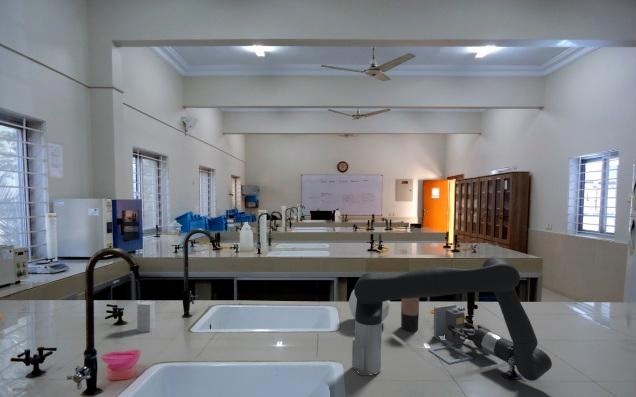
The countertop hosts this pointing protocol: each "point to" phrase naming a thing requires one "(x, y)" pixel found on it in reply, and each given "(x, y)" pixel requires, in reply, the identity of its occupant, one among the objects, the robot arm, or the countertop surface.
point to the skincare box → (146, 316)
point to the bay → (442, 322)
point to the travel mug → (410, 314)
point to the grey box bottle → (454, 323)
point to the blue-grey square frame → (452, 360)
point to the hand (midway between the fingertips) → (456, 325)
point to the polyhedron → (353, 303)
